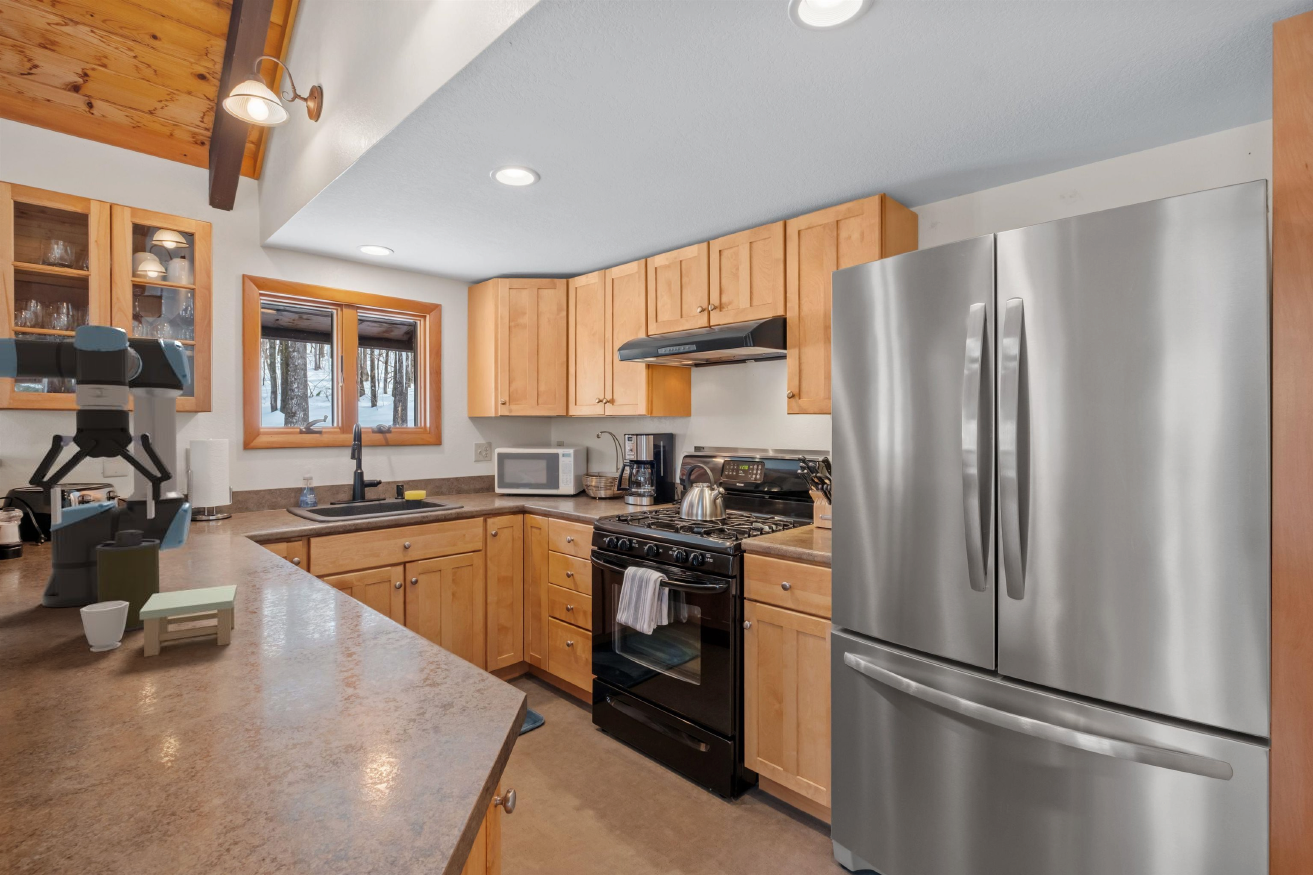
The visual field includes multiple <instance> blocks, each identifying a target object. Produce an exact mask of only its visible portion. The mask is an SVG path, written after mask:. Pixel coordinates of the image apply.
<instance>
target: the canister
mask: <svg viewBox="0 0 1313 875" xmlns="http://www.w3.org/2000/svg"><path fill="white" fill-rule="evenodd" d="M143 533H144V532H143V531H140V530H127V531H121V532H116V533H115V540H114V541H107V542H102V543H100V545H98V546H97V547H95V549H96V550H97V578H98V603H102V602H110V601H125V602H129V606H128V612H127V618H126V624H125V629H124V632H123V633H125V632H130V631H136V630H140V629H144V619H143V620H140V610H141V609H142V608H143V607H144V605H145V604H146V603H147V601H148V600H149V599H150V597H151V596H152V595H153V594H157V593H160V552H159V551H160V550H159V543H160V541H159V540H156V539H142V534H143Z"/></svg>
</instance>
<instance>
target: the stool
mask: <svg viewBox="0 0 1313 875" xmlns="http://www.w3.org/2000/svg"><path fill="white" fill-rule="evenodd" d="M237 593H238V584H232V585H230V584H229V585H220V586H213V587H212V586H211V587H204V588H196V589H193V588H192V589H187V590H185V589H184V590H178V591H177V590H176V591H167V592H159V593H157V594H153V595H152V596H151V597H150V599H149V600H148V601H147V603H146V604H145V605H144V607H143V608H142V609H141V610H140V620H143V619H144V628H143V644H144V645H143V648H144V649H143V650H144V653H143V654H144V655H143V656H144V658H145V657H151V656H158V655H159V654H160V652H161V642H163V641H169V640H173V639H174V640H175V639H182V638H191V637H196V636H197V637H198V636H203V635H209V634H217V646H224V645H230V644H231V642H232V629H234V628H235V601H236V597H237ZM214 619H215V620H216V619H217V623H216V624H215V625H207V626H199V627H192V628H185V629H177V630H171V631H170V625H176V624H185V623H190V622H191V623H192V622H198V621H199V622H200V621H206V620H214Z"/></svg>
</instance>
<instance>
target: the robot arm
mask: <svg viewBox="0 0 1313 875" xmlns="http://www.w3.org/2000/svg"><path fill="white" fill-rule="evenodd" d="M74 332H75V333H74V338H68V339H64V340H48V339H34V338H33V339H32V338H31V339H29V338H28V339H27V338H14V337H0V378H9V379H34V380H35V379H37V380H38V379H40V380H41V379H42V380H43V379H44V380H47V379H49V380H50V379H51V380H52V379H53V380H55V379H56V380H74V381H75V406H76V407H79V409H77V411H76V412H75V417H76V418H75V420H76V421H75V422H76V423H75V425H76V427H75V428H76V431H75V434H74V435H64V434H63V433H62V434H54V435H53V436H52V440H51V447H50V448H49V450H48V451H47V453H46V454H45V456H44V457H43V459H42V460H41V462H40V463H39V465H38V467H37V468H36V469H35V471H34V473H33V474H32V475H31V477H30V479H29V480H28V484H29V485H30V486H33V487H39V488H41V489H42V490H43V491H42V492H43V495H42V497H43V505H44V507H51V508H50V513H51V516H50V517H51V522H50V529H49V531H50V546H51V573H50V575H49V577H48V580H47V583H46V585H45V587H44V590H43V593H42V595H41V596H42V597H41V600H42V601H41V602H42V603H41V604H42V606H43V607H46V608H69V607H71V608H72V607H77V606H85V605H86V606H88V605H92V604H97V603H98V578H97V550H96V549H95V547H97V546H98V545H100V543H102V542H107V541H114V540H115V533H116V532H121V531H127V530H140V531H143V532H144V533H143V534H142V539H156V540H159V541H160V543H159V551H160V552H163V551H164V550H173V549H180V547H181V548H182V546H183V545H185V543H186V541H187V539H188V535H189V532H190V526H191V520H192V514H193V513H192V509H193V508H192V507H193V506H192V504H191V503H189V502H187V501H186V502H185V495H183V494H182V493H181V492H180V491H178V483H177V482H178V481H177V480H178V478H177V476H178V475H177V474H178V471H177V470H178V468H177V465H178V464H177V457H178V456H177V398H178V397H180V396H181V395H182V394H183V393H184V387H186V386H187V387H188V386H190V384H191V381H192V380H191V371H190V370H191V369H190V365H189V360H188V355H187V352H186V349H185V347H184V345H183V344H182V343H181V342H180V341H178V340H172V339H163V338H162V339H161V338H146V337H128V333H127V331H126V330H125V329H123V328H120V327H115V326H107V325H94V324H93V325H92V324H91V325H89V324H88V325H79V326H78V327H76V328H75V331H74ZM130 396H131V397H132V398H133V399H132V400H133V403H132V404H133V407H132V408H133V410H132V411H133V414H132V415H133V418H132V419H133V435H132V434H131V431H130V412H129V411H128V409H126V408H128V407H130ZM72 442H73V444H74V445H75V446H76V447H77V448H79V450H77V451H76V453H74V454H73V455H72V456H71V457H70V458H69V459H68V460H67V461H66V462H65V463H64V464H63V465H62V466H60V468H58V469H57V470H56V471H55V472H54V473H53V474H51V476H50V477H49V478H47V479H46V480H45V478H46V476H47V475H48V473H49V472H50V470H51V469H52V467H53V466H54V464H55V462H56V461H57V460H58V458H59V457H60V455H61V453H62V451H64V448H65V447H68V446H70V444H71V443H72ZM132 443H133V452H132V451H131V450H130V449H129V448H128V447H129V446H130V445H131V444H132ZM119 456H120V458H122V459H123V460H125V461H126V462H127V463H129V464H130V466H132V467H133V492H132V493H131V494H130V495H129V496H128V497H126V498H125V505H122V506H117V503H116V502H115V501H114V500H109V501H99V502H98V501H97V502H91V503H86V504H85V503H84V504H79V505H74V506H73V505H72V506H69V507H64V508H62V489H61V488H62V487H56V485H58V483H60V482H61V481H62V480H63V479H64V478H65V477H66V476H67V475H68V474H70V473H71V472H72V471H73V470H74V469H75V468H76V467H77V466H78V465H79V464H81V462H83V461H84V460H85V459H86V458H91V459H99V458H108V459H110V458H111V459H113V458H117V457H119Z"/></svg>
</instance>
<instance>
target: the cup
mask: <svg viewBox="0 0 1313 875" xmlns="http://www.w3.org/2000/svg"><path fill="white" fill-rule="evenodd" d="M128 606H129V602H125V601H110V602H102V603H93V604H87V605H86V606H84V607H82V608H80V609H79V611H80V612H79V613H80V615H81V616H80V618H81V620H82V625H83V630H84V633H85V636H86V639H87V642H88V644H89V645H90V646H92V647H90V649H89V650H90V652H93V653H96V652H97V653H98V652H106V651H110V650H114V649H117V648H118V647H120V646H122V642H119V641H120V640H122V638H123V635H124V633H125V632H124V629H125V624H126V618H127V612H128Z"/></svg>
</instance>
